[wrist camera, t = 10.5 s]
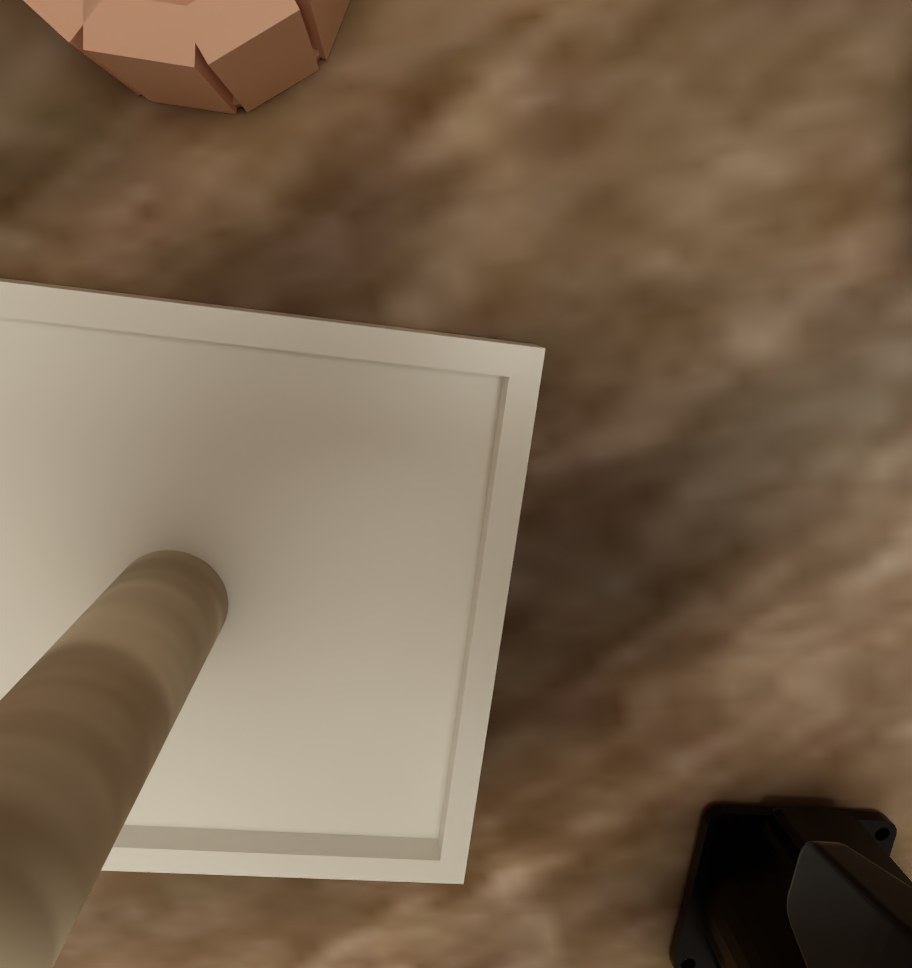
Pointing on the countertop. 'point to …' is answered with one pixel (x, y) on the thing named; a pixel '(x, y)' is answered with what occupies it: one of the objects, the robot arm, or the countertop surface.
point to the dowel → (93, 740)
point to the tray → (277, 561)
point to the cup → (201, 45)
